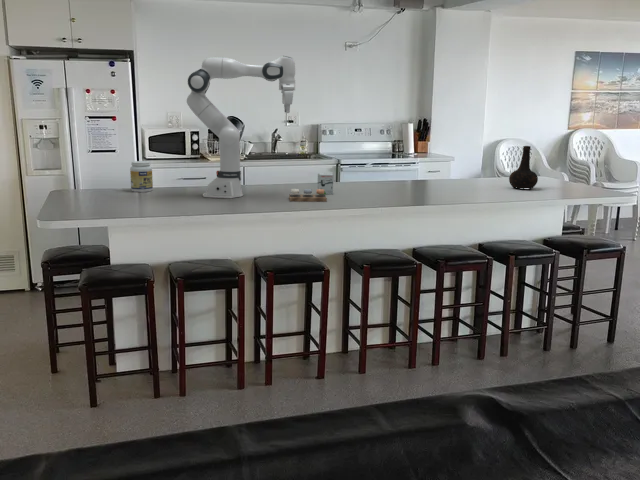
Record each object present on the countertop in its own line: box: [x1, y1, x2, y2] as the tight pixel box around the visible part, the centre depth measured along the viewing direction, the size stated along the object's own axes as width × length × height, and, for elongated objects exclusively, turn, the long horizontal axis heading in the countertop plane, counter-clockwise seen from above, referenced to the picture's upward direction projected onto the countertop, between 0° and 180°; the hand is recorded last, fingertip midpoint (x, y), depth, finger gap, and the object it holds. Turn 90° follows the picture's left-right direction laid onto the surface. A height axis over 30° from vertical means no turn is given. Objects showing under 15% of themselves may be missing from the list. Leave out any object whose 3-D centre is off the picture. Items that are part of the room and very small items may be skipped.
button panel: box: [288, 193, 328, 203], centre depth 333 cm, size 20×12×2 cm, turn 95°
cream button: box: [290, 188, 300, 194], centre depth 332 cm, size 4×4×2 cm
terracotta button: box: [315, 188, 325, 195], centre depth 333 cm, size 4×4×2 cm
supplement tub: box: [129, 160, 154, 193], centre depth 350 cm, size 12×12×17 cm
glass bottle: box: [508, 145, 539, 189], centre depth 392 cm, size 18×18×28 cm
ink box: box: [316, 172, 334, 195], centre depth 355 cm, size 9×5×12 cm, turn 105°
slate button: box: [303, 188, 313, 195], centre depth 332 cm, size 4×4×2 cm
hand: (287, 112), depth 333 cm, fingers open, 8 cm apart
